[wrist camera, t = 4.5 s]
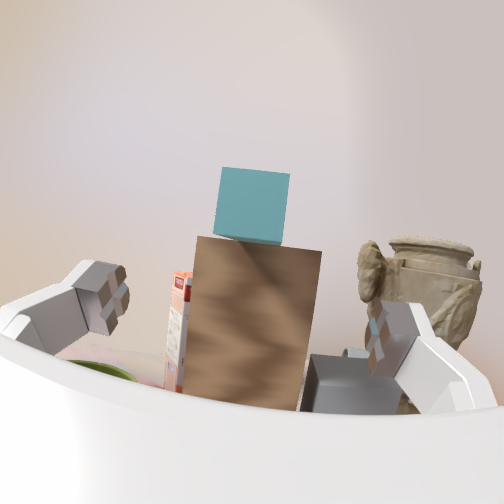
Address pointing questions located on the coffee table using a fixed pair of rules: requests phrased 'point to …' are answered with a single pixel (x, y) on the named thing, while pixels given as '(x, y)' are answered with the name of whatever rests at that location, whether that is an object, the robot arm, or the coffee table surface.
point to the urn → (424, 286)
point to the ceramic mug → (355, 353)
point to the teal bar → (251, 205)
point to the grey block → (347, 388)
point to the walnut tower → (249, 322)
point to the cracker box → (177, 331)
